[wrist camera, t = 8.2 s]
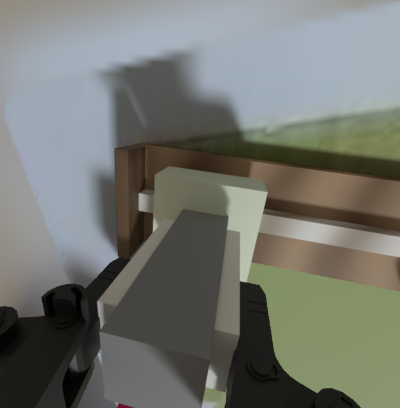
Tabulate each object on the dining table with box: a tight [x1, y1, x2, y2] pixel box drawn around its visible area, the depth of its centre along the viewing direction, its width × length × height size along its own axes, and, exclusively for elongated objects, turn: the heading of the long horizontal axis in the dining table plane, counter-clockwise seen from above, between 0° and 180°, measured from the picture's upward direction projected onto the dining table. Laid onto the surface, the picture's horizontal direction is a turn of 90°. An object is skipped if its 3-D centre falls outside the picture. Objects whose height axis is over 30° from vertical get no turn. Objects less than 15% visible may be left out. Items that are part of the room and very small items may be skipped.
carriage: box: [99, 166, 268, 408], centre depth 12 cm, size 7×7×12 cm
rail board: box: [115, 143, 400, 291], centre depth 17 cm, size 25×9×4 cm, turn 84°
